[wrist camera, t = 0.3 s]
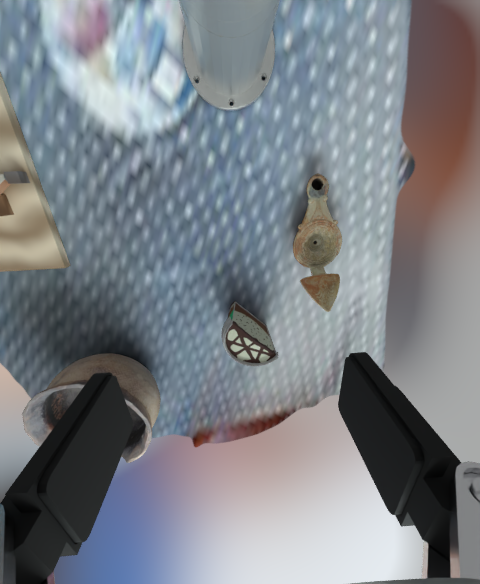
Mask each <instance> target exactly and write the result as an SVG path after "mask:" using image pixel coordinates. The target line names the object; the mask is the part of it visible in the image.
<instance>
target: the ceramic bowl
mask: <svg viewBox="0 0 480 584" xmlns="http://www.w3.org/2000/svg"><path fill="white" fill-rule="evenodd" d="M107 372H110V373H112V375H113V376H116V377H117V380H118V383H119V385H120V388H121V391H122V393H123V396H124V399H125V401H126V404H127V407H128V409H129V412H130V415H131V417H132V420H133V427H132V431H131V433H130V436H129V438H128V441H127V443H126V446H125V448H124V451H123V453H122V456H121V457H123V458H124V459H125V460H126V462H127V463H129V462H132V461H134V460H136V459H138V458H139V457H141V456H142V455H143V454H144V453H145V451H146V449H147V447H148V445H149V444H150V442H151V439H152V427H153V425H154V423H155V421H156V419H157V416H158V413H159V408H160V393H159V390H158V387H157V384H156V381H155V379H154V377H153V375H152V374H151V372H150V371H149V370H148V369H147V368H146V367H144V366H143V365H142V364H141V363H139V362H138V361H136V360H134V359H132V358H129V357H126V356H123V355H119V354H112V353H105V354H96V355H91V356H88V357H85V358H82V359H79V360H77V361H75V362H73V363H72V364H70V365H69V366H67V367H66V368H65V369H64V370H62V371H61V372H60V373H59V374H58V375H57V376H56V377H55V378H54V379H53V380H52V382H51V383H50V384H49V386H48V388H47V389H46V390H44V391H42V392H40V393H38V394H37V395H36V396H35V397H33V398H32V399H31V400H30V401H29V403H28V404H27V406H26V407H25V409H24V411H23V422H24V428H25V431H26V433H27V434H28V436H30V438H31V439H32V440H33V441H34V443H35V444H36V445H38V446H41V445H42V443H43V442H44V441H45V439H46V438H47V436H48V435H49V434H50V432H51V431H52V430H53V428H54V427H55V425H56V424H57V423H58V421H59V420H60V419H61V417H62V416H63V414H64V413H65V412H66V410H67V409H68V408H69V406H70V405H71V404H72V402H73V401H74V399H75V398H76V397H77V395H78V394H79V393H80V391H81V390H82V388H83V387H84V386H85V384H86V383H87V382H88V380H89V379H90V378H91V376H92V375H93V374H95V373H107Z"/></svg>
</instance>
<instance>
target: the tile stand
mask: <svg viewBox="0 0 480 584" xmlns="http://www.w3.org/2000/svg"><path fill="white" fill-rule="evenodd" d="M0 174H4V175H5V177H6V179H7V182H8V184H10V185H9V186H8V187H7V188H6V190H5V191H4V192H3V193H2V194H1V195H0V272H1V271H20V270H39V269H57V268H67V267H69V266H70V263H69V260H68V257H67V255H66V252H65V249H64V246H63V244H62V241H61V238H60V235H59V233H58V230H57V227H56V224H55V222H54V219H53V216H52V213H51V211H50V208H49V205H48V202H47V200H46V197H45V194H44V191H43V189H42V186H41V183H40V180H39V178H38V175H37V172H36V169H35V166H34V164H33V161H32V158H31V155H30V153H29V150H28V147H27V144H26V142H25V139H24V136H23V133H22V131H21V128H20V125H19V122H18V120H17V117H16V114H15V111H14V109H13V106H12V103H11V100H10V98H9V95H8V92H7V89H6V87H5V84H4V81H3V78H2V75H1V73H0Z"/></svg>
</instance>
